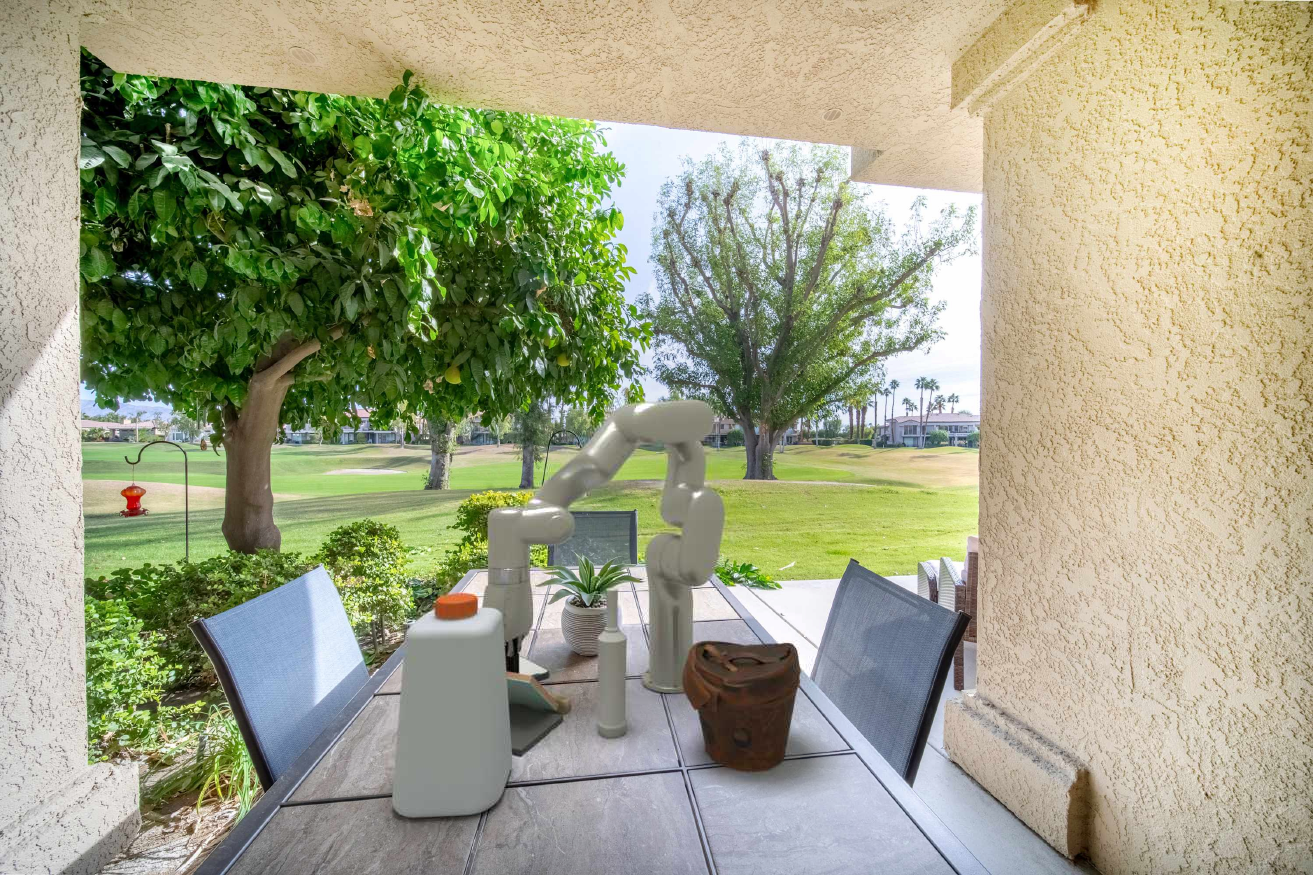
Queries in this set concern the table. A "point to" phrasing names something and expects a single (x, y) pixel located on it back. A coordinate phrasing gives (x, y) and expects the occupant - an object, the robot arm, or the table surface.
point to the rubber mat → (530, 727)
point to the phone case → (532, 669)
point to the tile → (528, 691)
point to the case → (743, 700)
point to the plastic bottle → (453, 712)
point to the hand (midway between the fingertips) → (509, 675)
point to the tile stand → (562, 708)
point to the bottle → (612, 672)
